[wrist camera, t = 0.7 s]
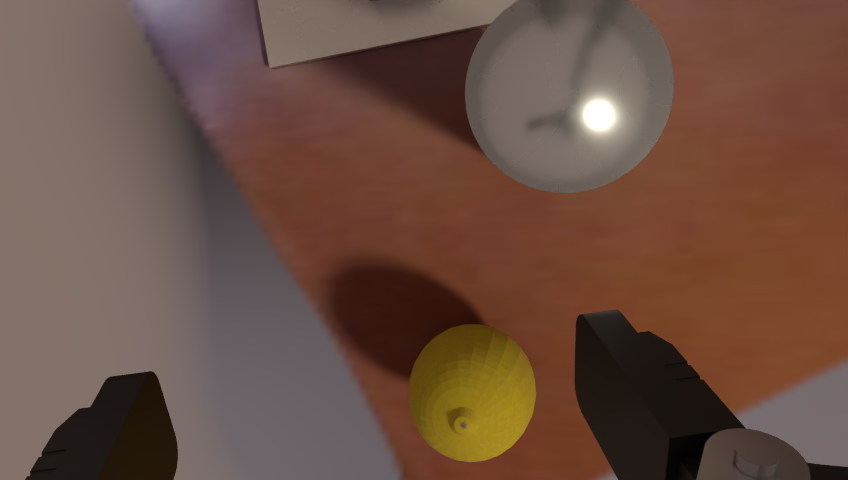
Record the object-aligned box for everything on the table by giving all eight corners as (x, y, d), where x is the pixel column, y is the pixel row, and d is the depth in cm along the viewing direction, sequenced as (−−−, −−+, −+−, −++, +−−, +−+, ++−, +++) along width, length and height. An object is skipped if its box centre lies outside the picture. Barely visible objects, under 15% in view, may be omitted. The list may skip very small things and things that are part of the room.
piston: (485, 79, 30) (450, 7, 16) (599, 58, 29) (661, -37, 15) (502, 188, 31) (480, 207, 17) (613, 171, 30) (686, 176, 16)
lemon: (529, 421, 32) (529, 505, 24) (420, 406, 33) (386, 482, 25) (540, 314, 31) (544, 364, 23) (428, 301, 32) (396, 345, 24)
